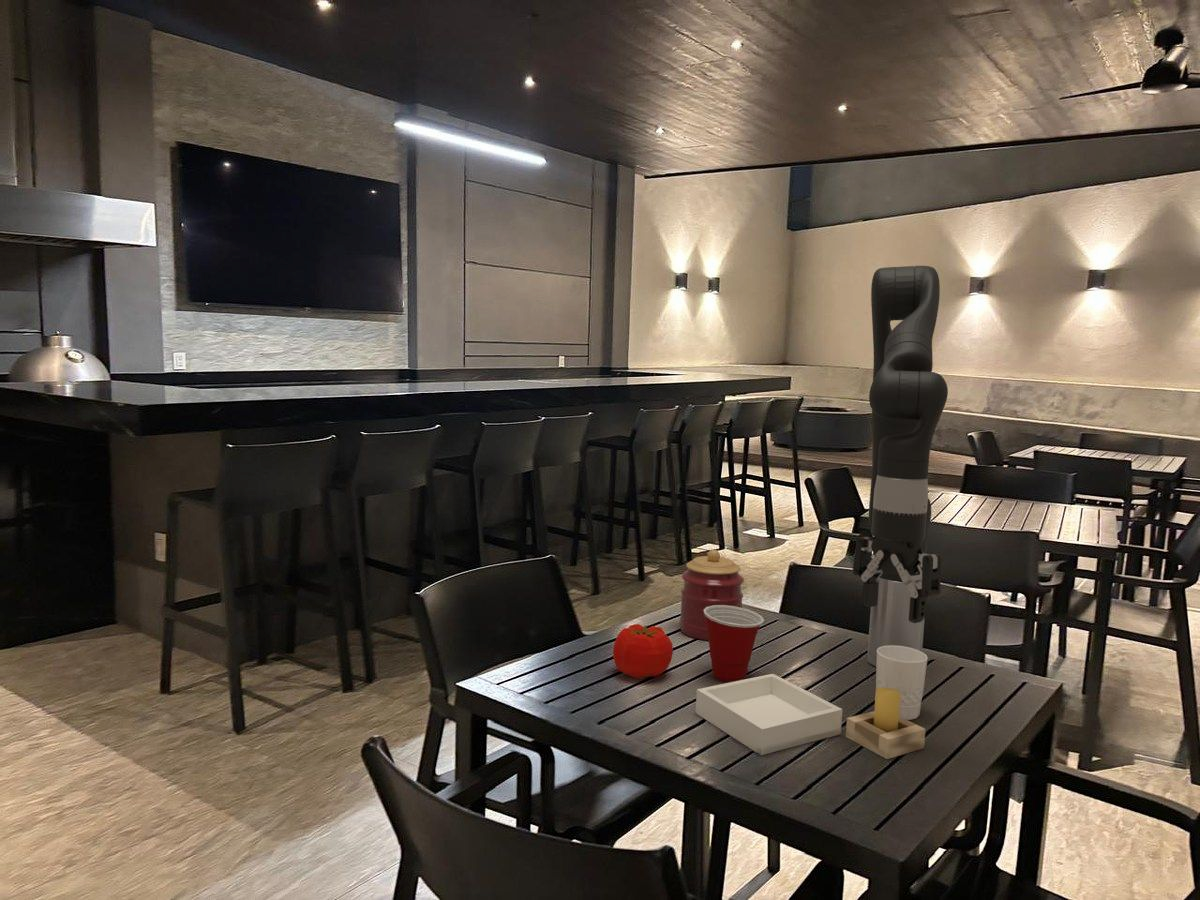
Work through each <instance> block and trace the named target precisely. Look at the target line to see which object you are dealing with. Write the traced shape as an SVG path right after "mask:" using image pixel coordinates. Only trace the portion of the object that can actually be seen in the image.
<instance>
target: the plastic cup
mask: <svg viewBox="0 0 1200 900" xmlns="http://www.w3.org/2000/svg"><path fill="white" fill-rule="evenodd" d="M704 614H705V616H706V622H707V629H708V638H709V640H708V646H709V656H710V660H711V669H712V675H713V677H714V679H716V680H718V681H721V682H725V683H730V682H735V681H740V680H745V679H746V676H747V672H748V669H749V663H750V661H751V657H752V654H753V649H754V645H755V642H756V638H757V635H758V631H759V629H760V627H761V625H762V624H763V623H764V621H765V619H764V617H763V616H762V615H760V614H759V613H757V612H755V611H752V610H750V609H748V608H745V607H744V608H743V607H742V608H740V607H735V606H727V605H713V606H709V607H706V608H705V609H704Z"/></svg>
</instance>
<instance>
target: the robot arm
mask: <svg viewBox="0 0 1200 900" xmlns="http://www.w3.org/2000/svg"><path fill="white" fill-rule="evenodd" d="M870 289H871V292H870V300H871V301H870V304H871V322H872V324H871V326H872V341H873V342H872V344H873V368H872V369H873V371H872V372H873V373H872V374H873V375H872V383H871V385H870V388H869V393H868V401H869V407H870V408H871V432H872V435H871V437H872V441H871V442H872V445H871V447H872V460H871V461H872V462H871V463H872V465H871V467H872V468H871V480H870V491H869V501H868V502H869V503H868V528H869V531H870V534H871V535H872V536H873V537H872V536H861V537H857V538H856V540H855V548H854V554H853V555H854V557H853V564H852V573H853V574H854V575H855V576H858V577H859V578H860V579H861V580H862V583H863V584H862V596H861V597H862V602H863V606H865V607H867V608H870V615H869V616H870V617H869V628H868V631H869V632H868V644H867V657H866V658H867V659H866V660H867V662H868V663H869V664H870V665H872V666H874V667H876V662H877V649H878V648H879V647H882V646H890V645H893V646H904V647H909V648H913V649H916V650H919V651H921V652H923V644H924V632H925V630H924V629H925V618H926V611H927V599H928V598H929V597H937V596H939V595H941V582H942V581H941V580H942V579H941V576H942V574H941V572H942V571H941V570H942V557H941V555H940V554H939V553H933V554H930V553H929V554H928V553H927V552H928V551H927V550H928V542H929V535H930V527H931V521H932V503H931V500H930V498H929V487H928V486H929V484H928V483H929V481H928V477H929V475H928V474H929V467H930V466H929V465H930V464H929V463H930V454H931V447H932V441H933V438H934V436H935V435H934V434H935V433H936V432H935V431H936V429H937V427H938V423H939V420H940V419H941V415H942V413H943V411H944V409H945V407H946V403H947V400H948V396H949V394H948V393H949V389H948V385H947V382H946V380H945V378H944V377H943V376H942V375H941V374H940V373H938V372H934V371H933V367H934V365H933V363H934V362H933V338H934V333H935V329H936V323H937V318H938V313H939V305H940V291H941V288H940V278H939V273H938V271H937V270H936V269H935V267H932V266H929V265H912V266H911V265H910V266H909V265H908V266H907V265H906V266H888V267H879V268H877V269H876V270H875V272H874V273H873V276H872V280H871V288H870ZM891 321H900V322H898V323H897V324H896V325H895V327H894V328H893V329H892V327H891ZM872 553H873V554H872ZM872 555H874V557H873V558H872Z"/></svg>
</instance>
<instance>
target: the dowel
mask: <svg viewBox="0 0 1200 900" xmlns="http://www.w3.org/2000/svg"><path fill="white" fill-rule="evenodd" d="M899 705H900V692H899V691H897V690H895V689H892V688H886V687H880V688H877V689H876V688H875V698H874V710H873V711H874V724H873V726H875V727H877V728H879V729H881V730H883V731H885V732H887V733H888V732H892V731H895V730H898V719H899Z"/></svg>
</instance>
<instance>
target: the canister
mask: <svg viewBox="0 0 1200 900" xmlns="http://www.w3.org/2000/svg"><path fill="white" fill-rule="evenodd" d="M685 567H686V568H687V570H685V571H684V572H683V573H682V574H681V578H682V580H683V587H682V588H681V590H680V594H681V603H680V606H681V607H680V617H679V626H680V631H681V632H682V633H683V634H684V635H687V636H689V637H691V638H694V639H697V640H702V641H709V638H708V629H707V622H706V616H705V614H704V609H705V608H706V607H709V606H713V605H727V606H735V607H740V608H743V605H742V604H743V597H744V593H743V592H742V585H743V583H744V581H745V579H744V577H743V576H742V575H741V574H740V573H739V572H740V571H741V566H739V565H738V564H737V563H735V562H734V560H732V559H731V558H730V559H729V558H727V557H723V556H721V554H720V552H719V550H717V549H711V550H709V551H708V553H707V555H704V556H702V555H701V556H697V557H694V558H693V559H692V560H689V562H686V566H685Z"/></svg>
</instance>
